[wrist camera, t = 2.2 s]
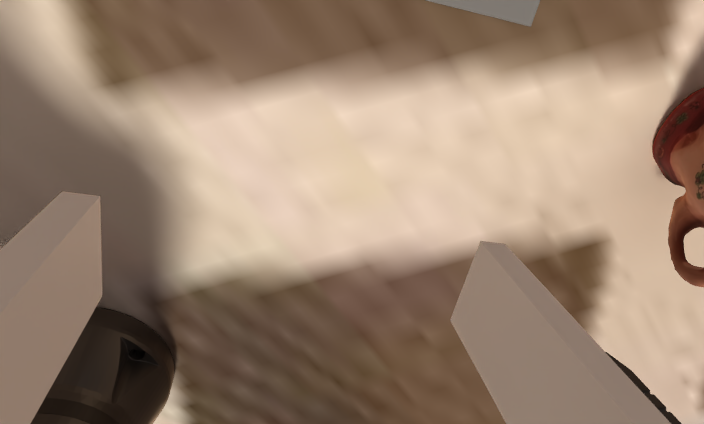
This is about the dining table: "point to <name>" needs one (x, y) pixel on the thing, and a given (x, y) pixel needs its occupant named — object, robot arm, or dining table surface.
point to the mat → (498, 8)
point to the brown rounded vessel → (684, 176)
